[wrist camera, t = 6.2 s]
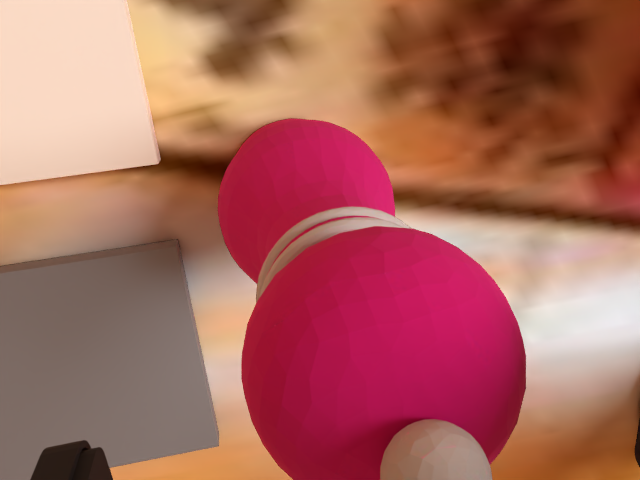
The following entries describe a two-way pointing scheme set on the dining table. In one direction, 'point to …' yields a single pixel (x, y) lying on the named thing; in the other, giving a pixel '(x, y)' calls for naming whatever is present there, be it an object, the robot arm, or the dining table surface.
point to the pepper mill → (362, 319)
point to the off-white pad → (71, 90)
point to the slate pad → (101, 358)
